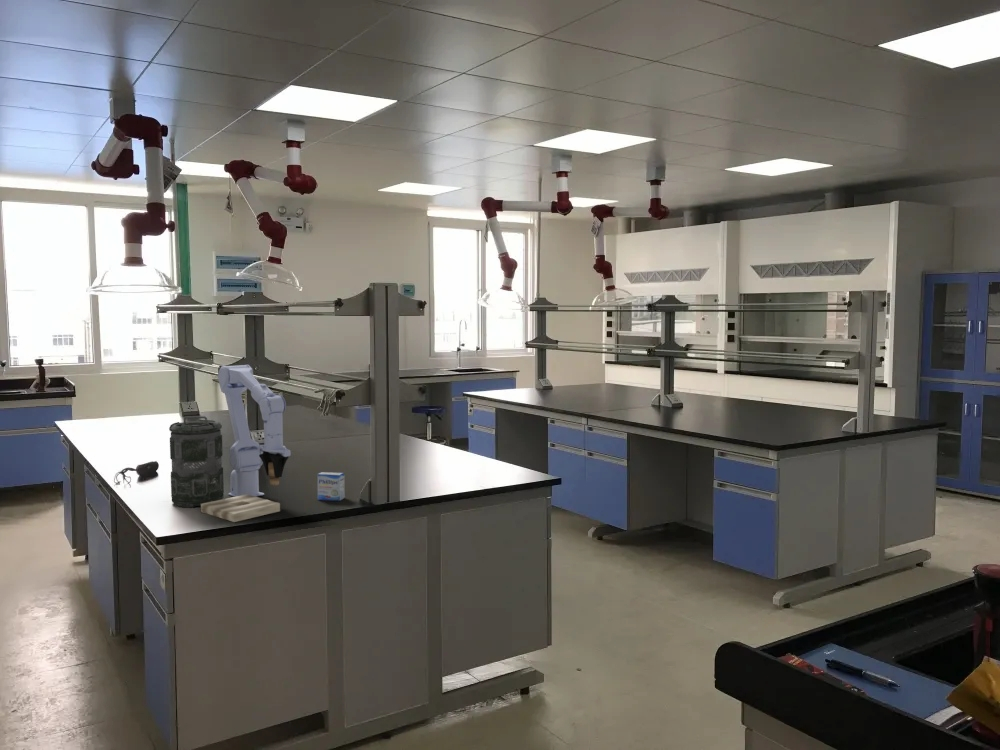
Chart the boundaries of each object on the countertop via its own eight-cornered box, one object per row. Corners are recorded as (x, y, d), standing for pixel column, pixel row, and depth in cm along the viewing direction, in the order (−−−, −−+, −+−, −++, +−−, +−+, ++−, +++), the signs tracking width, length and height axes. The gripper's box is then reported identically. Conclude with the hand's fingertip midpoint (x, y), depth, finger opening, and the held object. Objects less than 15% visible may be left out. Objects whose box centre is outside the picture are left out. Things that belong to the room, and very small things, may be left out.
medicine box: (317, 500, 255) (316, 474, 254) (322, 496, 259) (322, 471, 259) (340, 501, 254) (339, 475, 253) (345, 497, 258) (344, 472, 257)
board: (201, 511, 240) (200, 503, 239) (246, 501, 252) (246, 494, 252) (234, 522, 228) (233, 513, 228) (280, 511, 241) (279, 503, 241)
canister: (230, 495, 260) (228, 412, 257) (214, 508, 244) (212, 419, 242) (182, 496, 259) (179, 412, 257) (163, 508, 244) (160, 419, 241)
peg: (266, 484, 247) (265, 462, 247) (275, 482, 250) (275, 461, 249) (273, 486, 245) (272, 464, 244) (282, 484, 248) (282, 462, 247)
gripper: (298, 434, 245) (298, 477, 246) (270, 430, 254) (271, 471, 255) (279, 437, 239) (280, 481, 240) (251, 432, 248) (252, 474, 249)
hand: (274, 476), depth 247 cm, fingers closed on peg, 4 cm apart
